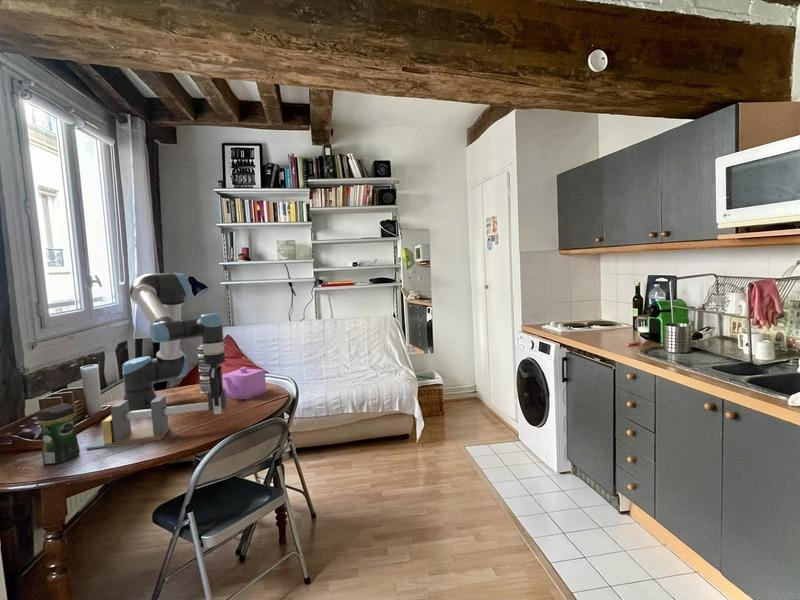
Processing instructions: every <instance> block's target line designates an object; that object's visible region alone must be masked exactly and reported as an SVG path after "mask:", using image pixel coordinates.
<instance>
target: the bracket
mask: <svg viewBox="0 0 800 600" xmlns="http://www.w3.org/2000/svg"><path fill="white" fill-rule="evenodd" d="M166 397H167V396H166V395H160V396H157V397H156V398H155V399H154V400H153V401H151V413H152V417H151V421H152V427H146V428H137V429H132V425H131V423H132V422H131V419H129V420H124V412H129V403H128V400H123V399H122V400H118V401H117V402H116V403H114V404H112V406H111V407H110V412H111V414H110V415H112V425H113V435H114V442H113V443H114V446H113V447H119V446H118V445H121V446H126V444H128V445H133V443H135V444H141V443H140V442H143V443H148V441H150V442H155V441H154V440H157V441H162V440H163V439H162V438H164V437H165V436H166V435H167V434H166V433H168V432H169V431H170V430H171V424H169V418H168V415H163V411H162V408H163V407H168V406H167V398H166ZM169 429H170V430H169ZM165 434H166V435H165ZM161 439H162V440H161ZM115 440H116V441H115Z"/></svg>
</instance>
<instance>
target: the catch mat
mask: <svg viewBox="0 0 800 600" xmlns="http://www.w3.org/2000/svg"><path fill="white" fill-rule="evenodd" d="M113 445H114V443H112V444H107V445H104V437H103V435H100V436H99V437H98V438H97V439H96V440H94V441H93V442H92V443H90V445H89V446H86V450H87V449H92V450H96V449H95V448H99V449H104V448H103V447H106V448H111V447H110V446H113ZM113 447H114V446H113Z"/></svg>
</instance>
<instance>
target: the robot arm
mask: <svg viewBox="0 0 800 600" xmlns="http://www.w3.org/2000/svg"><path fill="white" fill-rule="evenodd" d="M190 285H191V284H190V282H189V280H188V278H187V276H186V275H185V274H184V273H181V272H164V273H147V274H142V275H141V276H139V277H137V278H136V279H135V280H133V282H132V283H131V285H130V287H129V296H130V298H131V300H132V301H133V303H134V304H136V305H138V306H139V308H140V309H141V312H143V314H144V316H145V317H146V319H147V321H148V322H149V323H150V326H149V336H150V340H151V341H152V342H153V343H159V350H158V351H157V352H156V355H155V356H156V358H152V357H151V356H149V355H148V356H140V357H136V358H133V359H129V360H127V361H125V362H124V363H123V364H122V367H121V368H122V372H121V373H122V379H123V388H124V389H123V390H124V391H123V392H124V396H123V399H122V400H128V403H129V411H137V410H145V409H151V401H153V400H154V399H155V398H156V397H157V393H156V391H155V388H154V384H156V383H160V382H161V383H162V382H165V381H171V380H176V379H179V378H180V379H181V378H183V377H184V376H185V375H186V374H187V371H188V368H189V367H188V366H189V364H188V356H187V355H186V354H185V353H184V352H183V350H182V349H181V340H186V339H195V338H201V340H202V344H203V353H204V354H205V355H204V364H206V365H210V366H211V367H210V369H209V377H210V386H211V397H210V398H213V408H214V410H213V415H219V414H220V415H221V414H222V413H223V412H222V411H224V410H225V409H221V397H220V393H219V389H223V379H222V378H223V377H222V375H223V374H222V369H223V367H222V365H221V364H224V362H226V356H225V355H226V354H225V352H224V351H225V346H226V344H225V343H224V332H223V331H224V330H223V318H222V314H221V313H218V312H217V313H215V312H213V313H204V314H201V315H200V317H194V318H187V319H182V305H184V304H185V303H186V299H187V298H189V297H190V296H191V286H190ZM202 344H201V345H202Z"/></svg>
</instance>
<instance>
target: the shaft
mask: <svg viewBox="0 0 800 600" xmlns="http://www.w3.org/2000/svg"><path fill="white" fill-rule="evenodd" d="M219 393H220V397H221V409H224V410H225V409H226V408H227V406H228V402H227V398H226V390H225V389H219ZM210 397H211V390H210V391H209V392H208V393H207V401H206V402H205V401H204V402H196V403H188V404H181V405H172V406H167V407H163V408H162V411H163V415H167V416H168V415H177V414H183V413H193V412H199V411H200V412H201V411H208V412H211V411H212V412H213V411H214V408H213V398H210ZM144 418H152V413H151V409H145V410H137V411H129V412H124V420H129V419H130V420H135V419H136V420H138V419H144Z"/></svg>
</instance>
